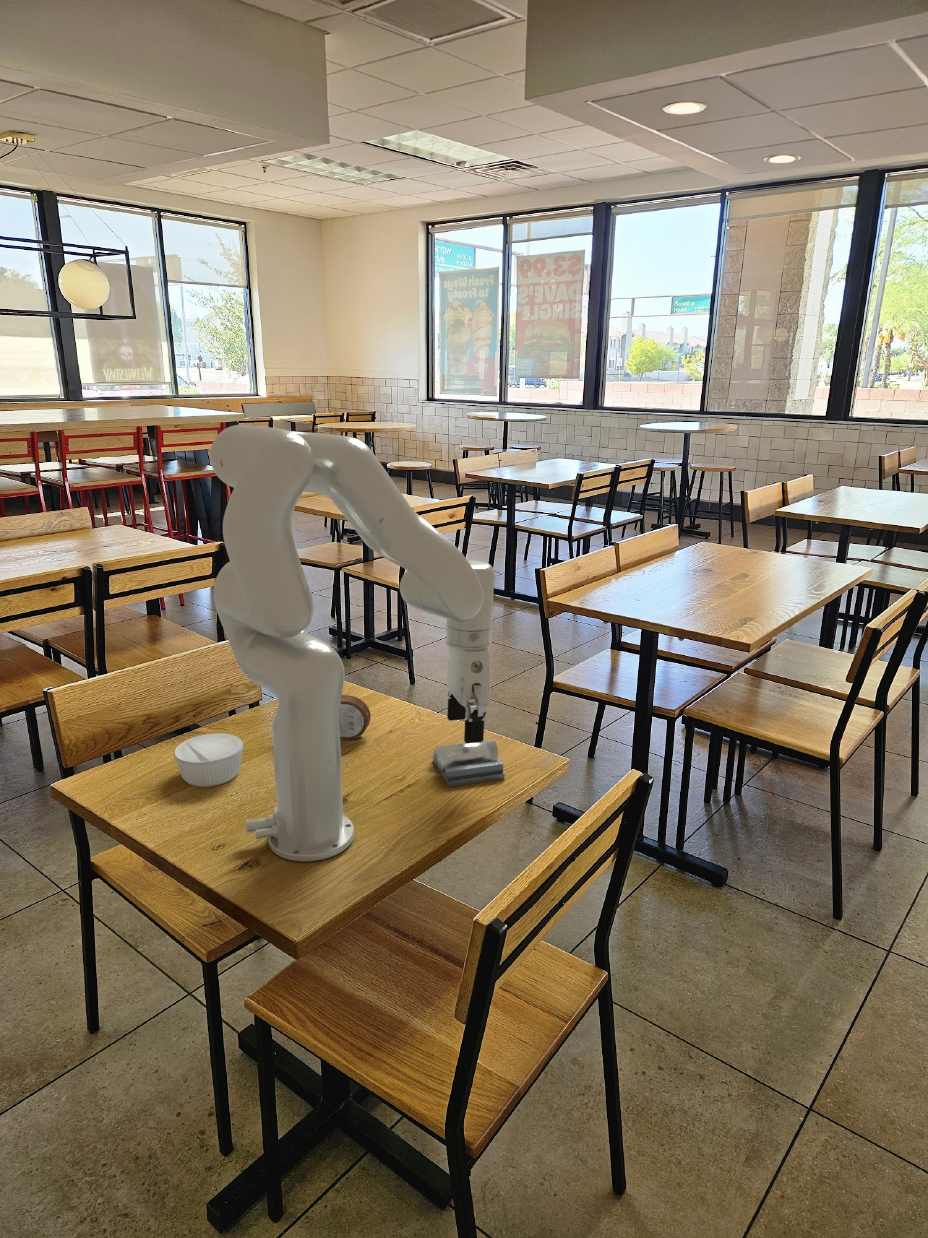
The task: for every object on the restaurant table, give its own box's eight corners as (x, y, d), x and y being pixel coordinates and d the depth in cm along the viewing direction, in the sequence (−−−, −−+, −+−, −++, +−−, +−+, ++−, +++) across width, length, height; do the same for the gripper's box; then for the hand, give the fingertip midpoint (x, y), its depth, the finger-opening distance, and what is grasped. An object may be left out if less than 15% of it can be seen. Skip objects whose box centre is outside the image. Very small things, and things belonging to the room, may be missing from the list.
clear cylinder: (442, 773, 138) (442, 752, 137) (436, 763, 142) (436, 742, 141) (497, 766, 141) (498, 745, 140) (490, 755, 145) (490, 735, 143)
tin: (371, 735, 155) (370, 694, 152) (368, 742, 152) (366, 701, 149) (294, 731, 156) (292, 690, 154) (289, 738, 153) (287, 697, 151)
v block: (448, 787, 136) (448, 773, 135) (432, 760, 145) (432, 747, 144) (504, 778, 139) (504, 765, 138) (485, 753, 148) (485, 740, 147)
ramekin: (163, 784, 136) (159, 756, 134) (202, 755, 146) (199, 729, 144) (221, 795, 133) (218, 766, 131) (257, 765, 143) (255, 737, 141)
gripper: (508, 650, 127) (502, 749, 132) (473, 620, 143) (469, 709, 148) (462, 652, 125) (458, 754, 130) (433, 622, 141) (430, 713, 146)
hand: (464, 730), depth 139 cm, fingers open, 9 cm apart
